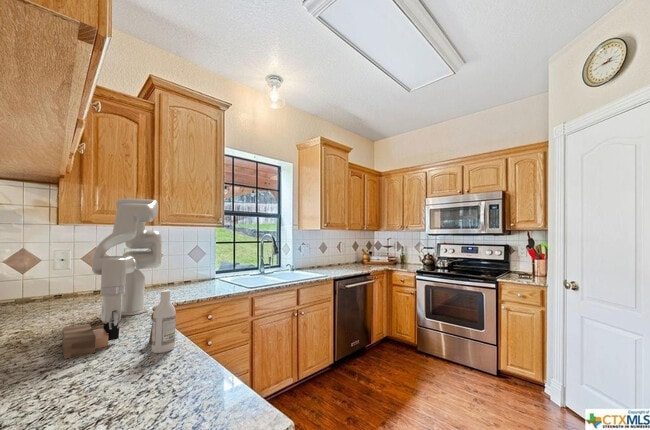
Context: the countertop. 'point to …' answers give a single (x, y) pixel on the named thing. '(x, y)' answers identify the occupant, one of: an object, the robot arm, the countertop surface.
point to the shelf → (78, 340)
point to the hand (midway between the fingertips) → (110, 336)
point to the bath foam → (164, 325)
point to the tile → (100, 338)
